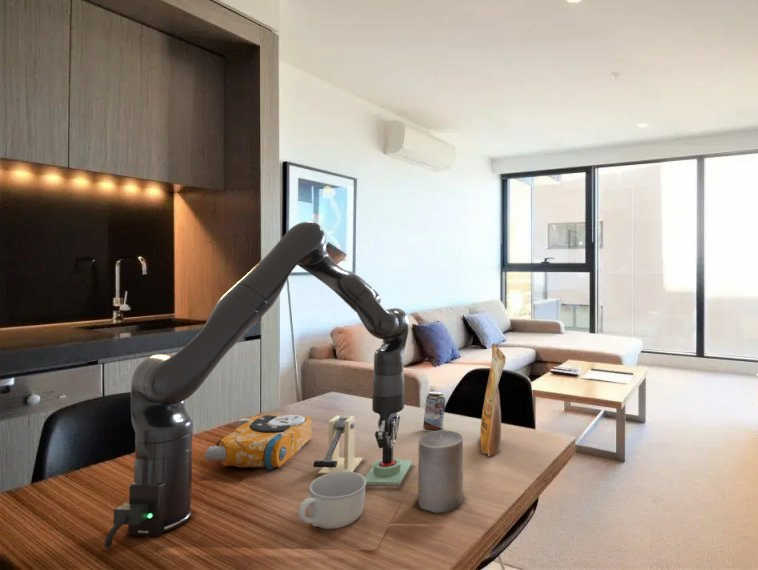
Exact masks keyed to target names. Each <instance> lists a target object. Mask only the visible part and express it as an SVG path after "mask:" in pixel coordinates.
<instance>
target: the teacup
mask: <svg viewBox="0 0 758 570" xmlns="http://www.w3.org/2000/svg"><path fill="white" fill-rule="evenodd" d="M366 486H367V485H366V479H365V476H364V475H362V473H359V472H354V471H352V472H349V471H341V472H333V473H324V474H323V475H320V476H317V478H315V479H314V480H312V481H311V482H310V483H309V486H308V490H309V497H307V498H305V499H304V500H302V502H301V503H300V505H299V507H298V512H297V515H298V518H299V520H301V521H302V522H303V523H306V524H311V526H313V527H318V528H320V529H325V530H336V529H341V528H344V527H346V526H349V525H352V524H353V523H354V522H355V521H357V519H359V518H360V516H361V515H362V513H363V511H364V507H365V499H366ZM307 509H308V515H309V516H307V515H306V513H307Z"/></svg>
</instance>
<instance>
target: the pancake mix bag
mask: <svg viewBox="0 0 758 570" xmlns="http://www.w3.org/2000/svg"><path fill="white" fill-rule="evenodd" d="M506 359H507V357H506V355H505V354H504V353H503V351H501V349H500V348H499V347H498V345H496V344H495V343H492V344H491V361H490V368H489V373H488V374H489V375H488V379H487V384H486V389H485V394H484V401H483V406H482V414H481V419H480V433H479V435H480V449H481V453H482V454H483V455H487V456H488V457H492V456H494V455H497V454H498V453H499V450H500V449H499V448H500V444H501V437H502V410H501V398H500V390H499V383H500V380H501V376H502V373H503V371H504V368H505V365H506V362H507V361H506Z"/></svg>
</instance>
